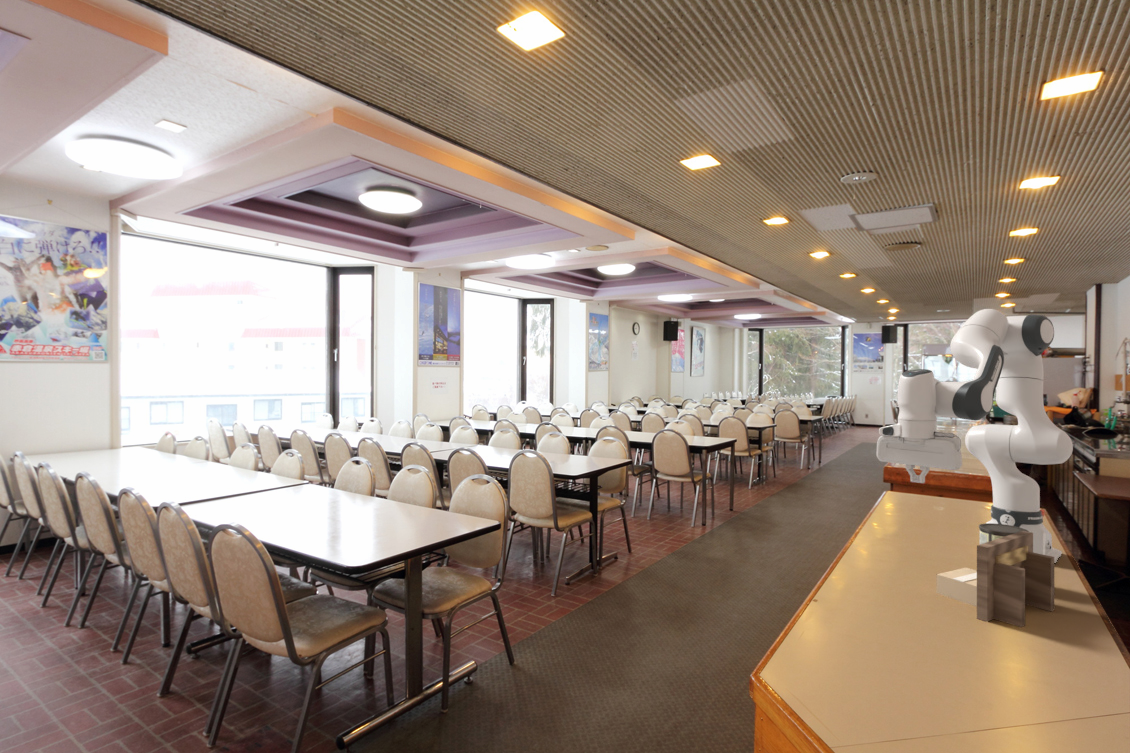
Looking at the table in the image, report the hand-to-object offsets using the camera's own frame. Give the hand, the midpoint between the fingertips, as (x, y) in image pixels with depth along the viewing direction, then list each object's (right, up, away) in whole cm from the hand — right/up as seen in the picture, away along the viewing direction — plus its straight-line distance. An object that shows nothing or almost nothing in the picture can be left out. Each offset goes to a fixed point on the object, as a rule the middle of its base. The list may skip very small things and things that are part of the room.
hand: (917, 482), depth 152 cm
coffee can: (+20, -26, -4) cm, 33 cm away
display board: (+8, -25, -23) cm, 35 cm away
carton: (+5, -26, -14) cm, 29 cm away
